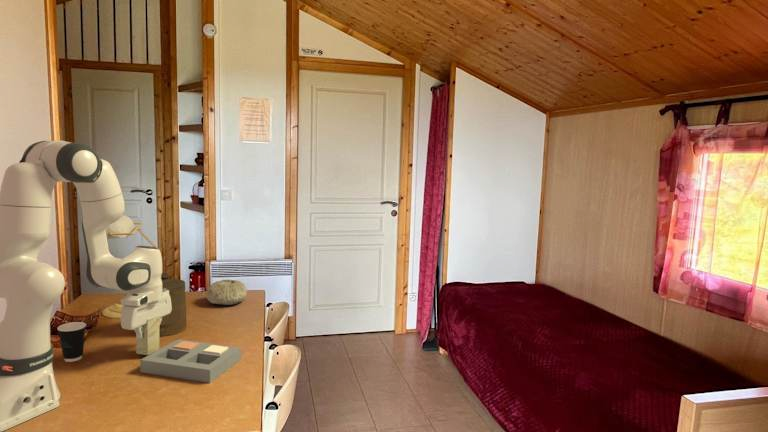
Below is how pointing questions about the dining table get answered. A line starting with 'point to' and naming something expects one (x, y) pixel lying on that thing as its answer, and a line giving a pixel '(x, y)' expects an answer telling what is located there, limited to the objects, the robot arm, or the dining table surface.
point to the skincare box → (149, 337)
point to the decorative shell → (226, 292)
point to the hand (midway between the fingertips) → (148, 334)
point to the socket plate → (191, 360)
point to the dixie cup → (72, 340)
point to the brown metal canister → (174, 307)
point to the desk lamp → (118, 231)
